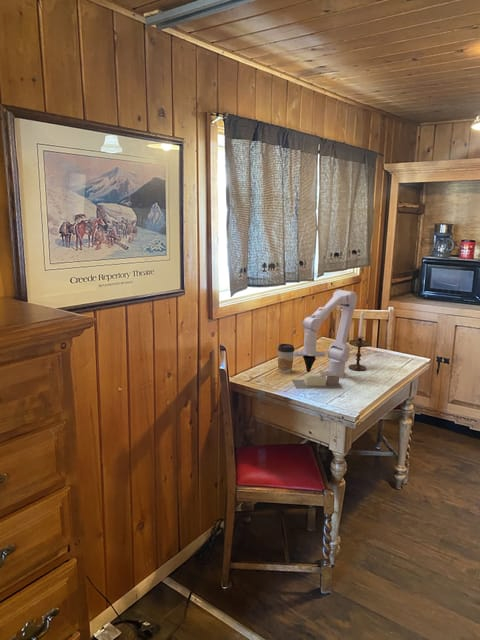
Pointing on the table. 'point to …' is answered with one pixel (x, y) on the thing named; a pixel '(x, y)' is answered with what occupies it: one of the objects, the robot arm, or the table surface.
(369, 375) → the table surface
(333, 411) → the table surface
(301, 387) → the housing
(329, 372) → the bar
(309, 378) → the cream rectangular block
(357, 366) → the candlestick
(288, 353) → the coffee cup
